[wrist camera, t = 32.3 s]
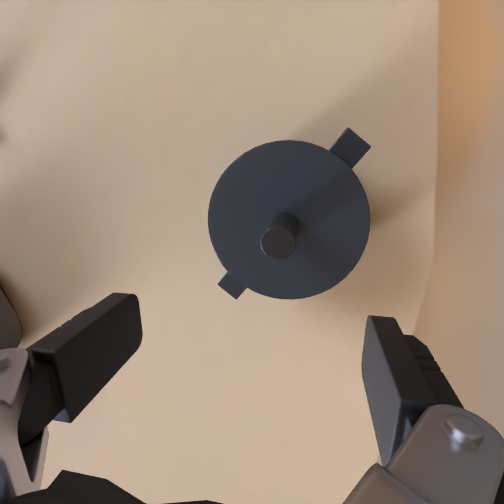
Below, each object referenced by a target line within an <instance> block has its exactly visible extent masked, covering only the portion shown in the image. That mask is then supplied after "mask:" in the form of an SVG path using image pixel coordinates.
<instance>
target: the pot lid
mask: <svg viewBox="0 0 504 504" xmlns="http://www.w3.org/2000/svg"><path fill="white" fill-rule="evenodd" d="M208 228H209V235H210V239H211V243H212V245H213V248H214V251H215V253H216V255H217V257H218V259H219V260H220V262H221V263H222V265H223V266H224V268H225V269H226V270H227V271H228V272H229V273H230V275H231V276H233V277H234V278H235V279H236V280H237V281H238V282H240V283H241V284H242V285H244V286H245V287H247V288H249V289H251V290H252V291H254V292H257V293H259V294H262V295H265V296H268V297H272V298H278V299H301V298H306V297H311V296H314V295H317V294H320V293H322V292H324V291H326V290H328V289H330V288H332V287H333V286H335V285H336V284H338V283H339V282H340V281H342V280H343V279H344V278H345V277H346V276H347V275H348V274H349V273H350V272H351V271H352V270H353V268H354V267H355V266H356V264H357V263H358V261H359V260H360V258H361V256H362V254H363V252H364V249H365V246H366V244H367V241H368V236H369V231H370V210H369V205H368V200H367V196H366V194H365V191H364V189H363V186H362V184H361V183H360V181H359V179H358V177H357V176H356V175H355V173H354V172H353V171H352V169H351V168H350V167H349V166H348V165H347V164H346V163H345V162H344V161H343V160H342V159H340V158H339V157H338V156H336V155H335V154H334V153H332V152H330V151H328V150H326V149H325V148H323V147H320V146H317V145H315V144H312V143H307V142H303V141H293V140H284V141H275V142H270V143H266V144H263V145H260V146H257V147H255V148H253V149H251V150H249V151H247V152H245V153H244V154H243V155H241V156H240V157H238V158H237V159H236V160H235V161H234V162H233V163H232V164H231V165H229V167H228V168H227V169H226V170H225V171H224V173H223V174H222V175H221V177H220V179H219V180H218V182H217V184H216V186H215V188H214V191H213V193H212V196H211V200H210V204H209V210H208Z"/></svg>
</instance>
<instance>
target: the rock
mask: <svg viewBox="0 0 504 504" xmlns="http://www.w3.org/2000/svg"><path fill="white" fill-rule="evenodd" d="M20 340H21V324H20V321H19V319H18V316H17V314H16V312H15V311H14V309H13V307H12V306H11V304H10V303H9V301H8V300H7V298H6V297H5V295H4V293H3V292H2V290H1V288H0V350H2V349H7V348H17V347H18V345H19V343H20Z"/></svg>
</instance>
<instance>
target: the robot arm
mask: <svg viewBox="0 0 504 504" xmlns="http://www.w3.org/2000/svg"><path fill="white" fill-rule="evenodd" d="M141 341H142V324H141V316H140V308H139V301H138V298H137V296H136V295H135V294H126V293H112V294H110V295H109V296H107V297H106V298H105V299H103V300H102V301H100V302H99V303H97V304H96V305H94V306H93V307H91V308H88V309H86V310H84V311H82V312H80V313H79V314H77V315H76V316H74V317H73V318H71V320H68V321H67V322H65V323H64V324H63V325H61V327H58V328H57V329H55V330H54V331H52V332H51V333H49V334H48V335H46V336H45V337H43V338H42V339H40V340H39V341H37V342H36V343H34V344H33V345H31V346H30V347H28V348H27V349H22V348H7V349H2V350H0V504H146V503H144V502H142V501H140V500H139V499H137V498H136V497H134V496H133V495H131V494H129V493H128V492H126V491H125V490H123V489H121V488H120V487H118V486H117V485H115V484H113V483H112V482H110V481H109V480H107V479H103V478H99V477H94V476H89V475H84V474H80V473H75V472H70V471H65V470H62V471H61V472H60V473H59V475H58V476H57V477H56V478H55V480H54V481H53V482H52V483H51V485H50V486H49V487H48V488H47V489H43V490H40V487H41V481H42V475H43V468H44V462H45V456H46V450H47V444H48V437H49V432H48V428H47V425H48V424H49V423H50V422H51V421H52V420H56V421H62V422H67V423H71V422H72V421H73V420H74V419H75V418H76V417H77V416H78V415H79V414H80V413H81V411H82V410H83V409H84V408H85V407H86V406H87V405H88V404H89V403H90V401H91V400H92V399H93V398H94V397H95V396H96V395H97V394H98V393H99V392H100V390H101V389H102V388H103V387H104V386H105V385H106V384H107V383H108V382H109V381H110V379H111V378H112V377H113V376H114V375H115V374H116V373H117V372H118V371H119V369H120V368H121V367H122V366H123V365H124V364H125V363H126V362H127V361H128V360H129V358H130V357H131V356H132V355H133V354H134V353H135V352H136V351H137V349H138V348H139V346H140V344H141ZM362 377H363V382H364V386H365V391H366V395H367V399H368V404H369V408H370V413H371V417H372V421H373V426H374V430H375V435H376V439H377V443H378V448H379V452H380V456H381V461H382V465H383V467H382V466H381V465H380V464H378V463H375V464H374V465H372V466H371V467H370V468H369V469H368V471H367V472H366V473H365V474H364V476H363V477H362V478H361V480H360V481H359V482H358V484H357V485H356V486H355V488H354V489H353V490H352V492H351V493H350V494H349V496H348V497H347V498H346V500H345V501H344V502H343V504H504V439H503V437H502V436H501V434H500V433H499V432H498V431H497V430H496V429H495V428H494V427H493V426H492V425H490V424H489V423H488V422H487V421H485V420H484V419H482V418H481V417H479V416H478V415H476V414H474V413H472V412H470V411H468V410H466V409H464V407H463V406H462V404H461V402H460V400H459V399H458V397H457V396H456V394H455V392H454V391H453V389H452V387H451V386H450V384H449V383H448V381H447V379H446V377H445V376H444V374H443V373H442V372H441V371H440V367H439V366H438V364H437V363H436V361H434V357H433V356H432V354H431V353H430V351H429V349H428V348H427V346H426V345H424V344H423V343H422V342H421V341H419V340H418V339H417V338H416V337H414V336H413V335H403V333H402V331H401V329H400V327H399V325H398V323H397V321H396V319H395V318H393V317H382V316H370V315H369V316H368V318H367V323H366V330H365V338H364V346H363V354H362ZM166 504H222V503H217V502H213V501H208V500H204V501H191V502H179V503H166Z"/></svg>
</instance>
